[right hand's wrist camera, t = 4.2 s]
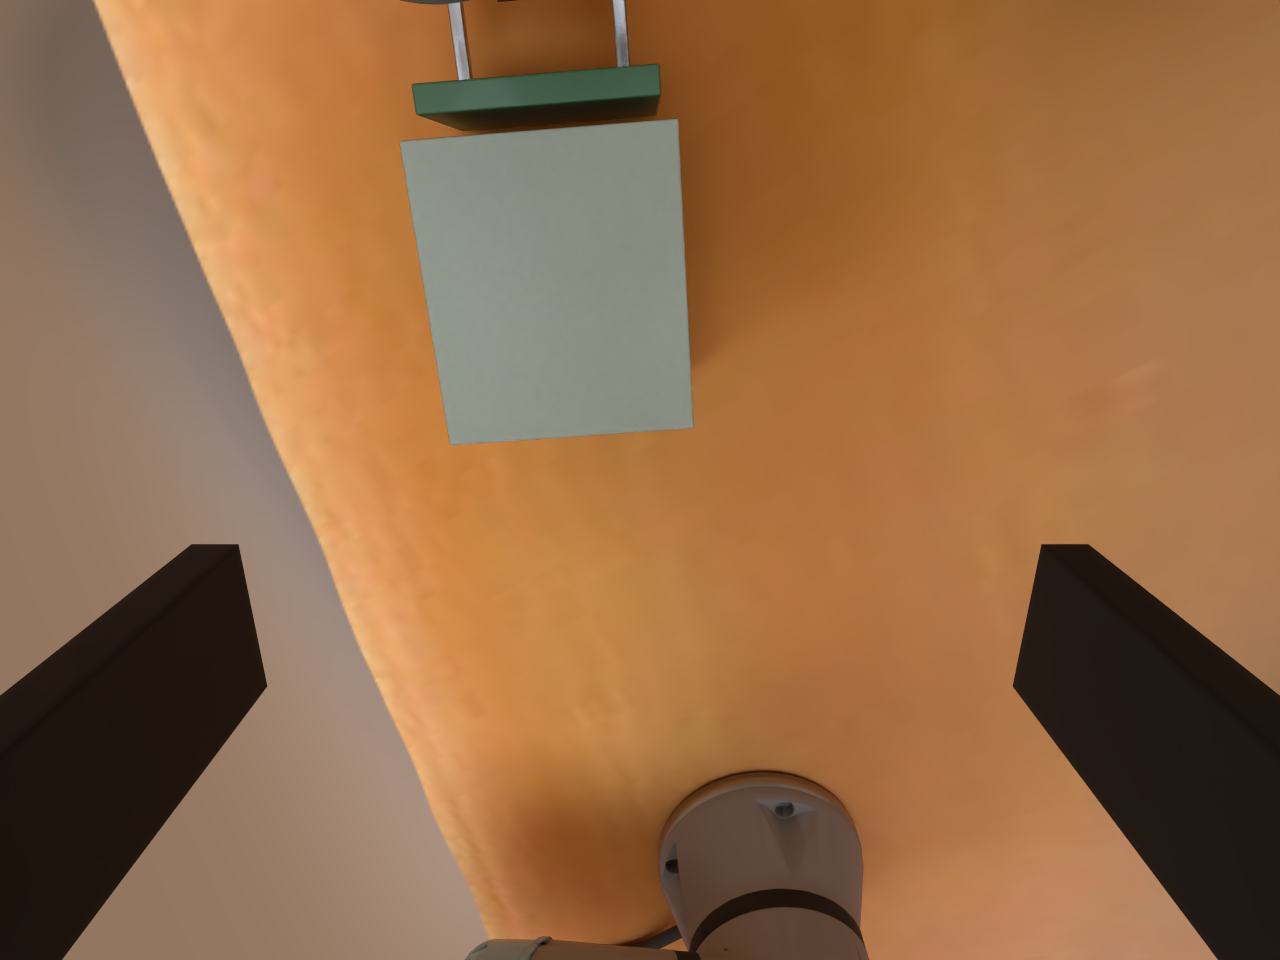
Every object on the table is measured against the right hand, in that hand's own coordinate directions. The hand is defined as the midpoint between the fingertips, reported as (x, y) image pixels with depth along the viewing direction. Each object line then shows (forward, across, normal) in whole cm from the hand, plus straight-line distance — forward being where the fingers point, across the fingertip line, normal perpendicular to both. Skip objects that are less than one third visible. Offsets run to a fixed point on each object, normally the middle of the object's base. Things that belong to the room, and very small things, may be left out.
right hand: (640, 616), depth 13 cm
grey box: (+34, +4, -2) cm, 35 cm away
